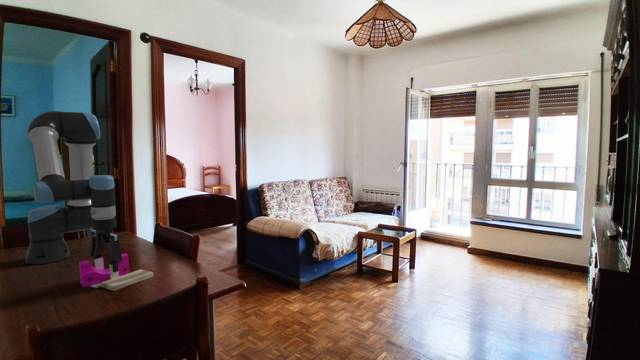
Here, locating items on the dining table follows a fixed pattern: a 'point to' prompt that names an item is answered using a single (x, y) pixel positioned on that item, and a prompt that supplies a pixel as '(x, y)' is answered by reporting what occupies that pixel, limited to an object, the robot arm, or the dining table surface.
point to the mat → (95, 285)
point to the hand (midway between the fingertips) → (107, 277)
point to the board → (126, 279)
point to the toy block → (100, 272)
